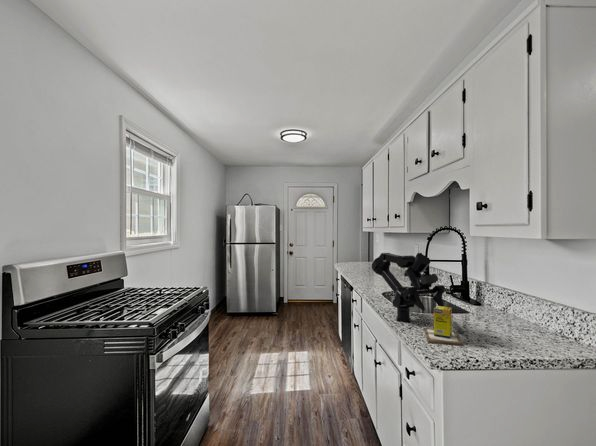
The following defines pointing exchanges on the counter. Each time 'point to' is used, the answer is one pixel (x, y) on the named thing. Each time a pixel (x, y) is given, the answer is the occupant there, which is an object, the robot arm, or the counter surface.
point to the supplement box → (443, 321)
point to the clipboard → (442, 338)
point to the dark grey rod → (458, 328)
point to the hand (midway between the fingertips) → (433, 309)
